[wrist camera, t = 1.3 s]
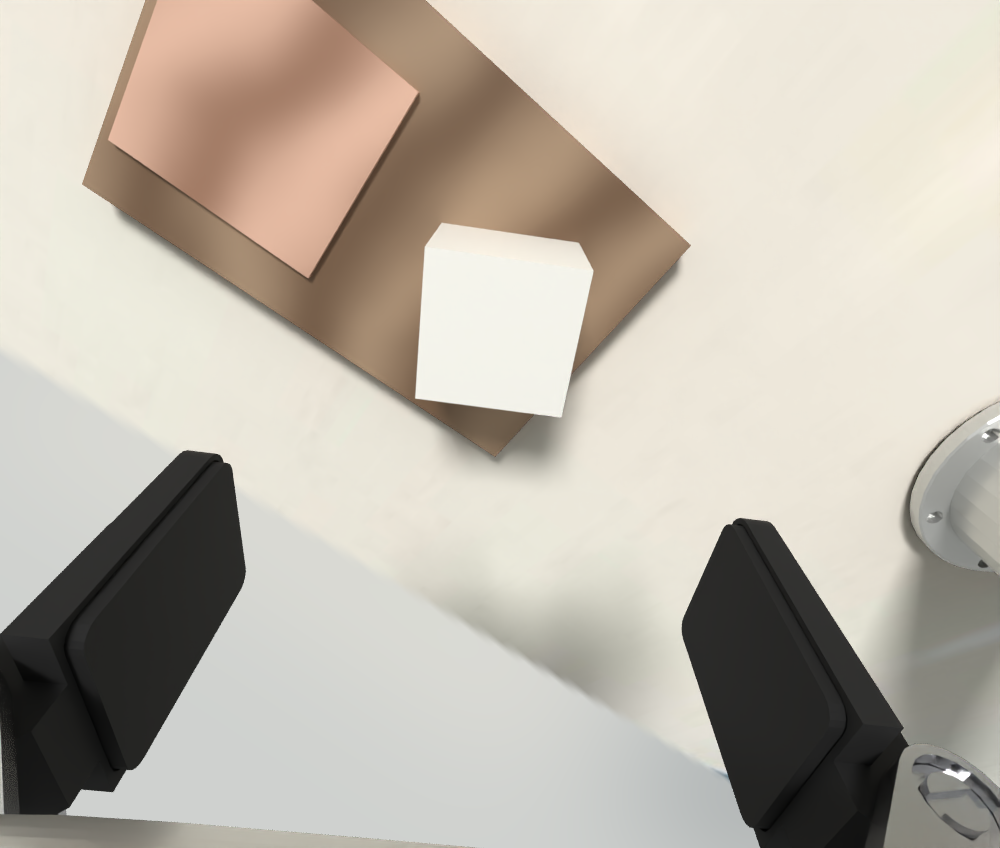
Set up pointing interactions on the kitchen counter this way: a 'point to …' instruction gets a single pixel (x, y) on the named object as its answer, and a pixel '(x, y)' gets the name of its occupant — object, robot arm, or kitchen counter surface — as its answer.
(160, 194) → the post board
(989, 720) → the kitchen counter surface
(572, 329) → the matte white cube
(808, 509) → the kitchen counter surface
